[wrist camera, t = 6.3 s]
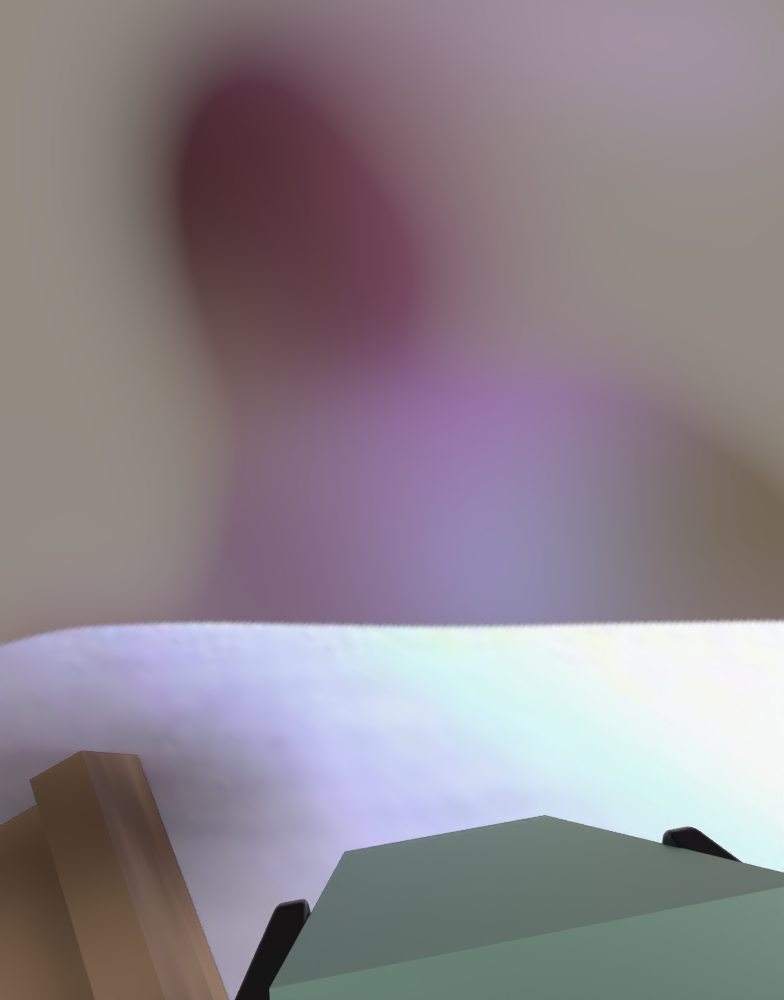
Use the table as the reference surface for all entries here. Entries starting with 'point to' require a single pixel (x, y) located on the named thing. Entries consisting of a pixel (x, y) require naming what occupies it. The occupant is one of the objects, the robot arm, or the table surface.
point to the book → (539, 921)
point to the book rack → (97, 893)
